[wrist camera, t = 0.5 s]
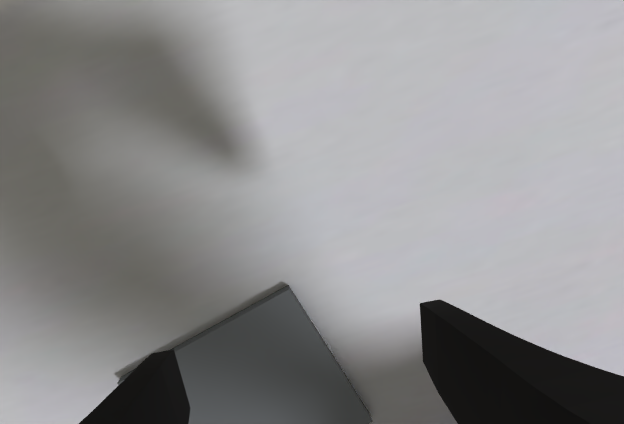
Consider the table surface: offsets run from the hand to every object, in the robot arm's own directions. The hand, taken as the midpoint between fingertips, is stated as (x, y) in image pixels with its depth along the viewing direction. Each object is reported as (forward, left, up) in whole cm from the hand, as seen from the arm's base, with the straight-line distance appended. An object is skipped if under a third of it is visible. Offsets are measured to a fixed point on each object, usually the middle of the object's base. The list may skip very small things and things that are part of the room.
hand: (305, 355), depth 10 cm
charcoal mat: (-8, +7, -10) cm, 14 cm away
